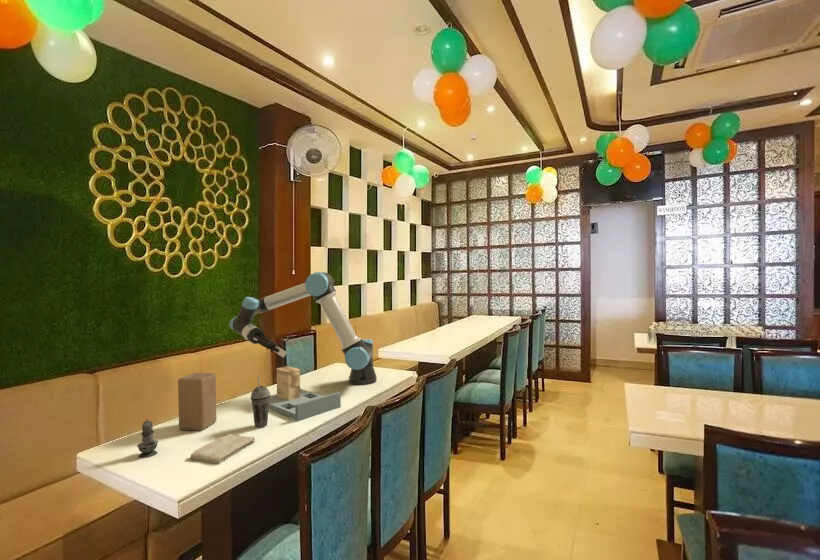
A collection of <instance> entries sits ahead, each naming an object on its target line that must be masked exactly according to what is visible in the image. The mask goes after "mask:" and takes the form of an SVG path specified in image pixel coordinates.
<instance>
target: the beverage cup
mask: <svg viewBox="0 0 820 560" xmlns="http://www.w3.org/2000/svg"><path fill="white" fill-rule="evenodd" d="M257 385H258V386H256V387H255V388H254V389H253V390H252V392H251V394H250V400H251V405H252V413H253V423H254V427H255V428H256V427H257V429H262V428H261V427H263V428H265V426H266V427H267V426H268V421H269V409H268V408H269V400H270V396H271V393H270V390H269V389H268V387H266V386H264V385H260V376H259V375H257Z"/></svg>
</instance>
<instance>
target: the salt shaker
mask: <svg viewBox="0 0 820 560" xmlns="http://www.w3.org/2000/svg"><path fill="white" fill-rule="evenodd" d="M141 427H142V428H141V429H142V430H141V431H142V432H141V433H140V435H142V436H141V438H142V439H141V442H139V443H138V444H137V445H136V446H137V448H138V451H139V452H141V453H140V454H139V455H138V458H140V459H146V458H152V457H154V456H155V455H157V454H158V451H157V450H155V449H156V448H157V447H158V443H159V441H158V440H156V439H154V433H155V431H154V430H153V427H154V426H153V422H152V421H151V420H149V419H148V418H146V420H145V421H144V422H143V423H142V425H141Z"/></svg>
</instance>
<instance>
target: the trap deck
mask: <svg viewBox="0 0 820 560" xmlns="http://www.w3.org/2000/svg"><path fill="white" fill-rule="evenodd" d="M341 399H342V397H341V392H340V391H336V392H332V393H330V394H328V395H321V394H318V393H315V392H312V391H309V390H306V389H302V388H300V398H297V399H293V400H286V399H283V398H280V397H278V396H277V393H276V394H273V395H270V400H269V408H268V410H269V409H270V411H271V412H274V411H275V412H274V413H277V414H279V413H280V415H281V414H282V415H281V416H284V417H286V418H289V419H291V418H292V419H291V420H293V419H294V421H296V422H300V421H303V420H305V419H309V418H311V417H312V418H313V417H315V416H318V415H321V414H324V413H327V412H330V411H333V410H336V409H339V408H341V406H342V405H341V404H342V403H341V402H342V401H341Z"/></svg>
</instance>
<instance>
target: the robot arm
mask: <svg viewBox="0 0 820 560" xmlns="http://www.w3.org/2000/svg"><path fill="white" fill-rule="evenodd" d="M334 286H335V280H334V277H333V276H332V275H331V274H330V273H328V272H325V271H324V272H321V271H317V272H314V273H310V274H309V276H307V277H306V280H305V282H304V283H301V284H298V285H295V286H292V287H290V288H287V289H283V290H282V291H278V292H276V293H273V294H270V295H267V296H264V297H262V298H259V299H257V298H255V297H251V296H245V298H244V299H243V301H242V302H241V306H240V310H239V311H238V314H237V315H235V316H233V317H232V319H231V320H230V321H229V327H230V329H231V330H233V332H234V333H237V335H239V336H241V337H243V338H244V340H247V341H248V342H250V343H252V344H254V345H258V344H259V345H260V346H261V347H264V348H265V349H267V350H270V352H271V353H273V352H274V353H275V354H277V355H278V356H280V357H282V358H285V356H286V355H287V353H288V352H287V351H285V350H284V349H283V348H281V345H280V344H277V343H276V342H275V341H274V340H273V339H269V338H268V336H265V333H264V331H263V330H262V329H260V328H258V327H257V326H256V325H255V324H252V322H253V319H254V317H255V315H258V314H263V313H266V312H268V311H271V310H274V309H277V308H279V307H282V306H284V305H287V304H290V303H294V302H297V301H299V300H302V299H305V298H307V297H310V296H311V297H313V298H312V299H314V303H316V304H320V307H321V308H322V310H323V312H324V314H325V316H326V317H327V319H328V321H329V323H330V325H331V327H332V328H333V330H334V333H335V334H336V336H337V337H338V339H339V341H340V344H341V347H340V348H341V351H342V354H343V355H344V361H345V364H346V366H347V367H349V368H350V369H351V370H350V373H349V377H348V383H350V384H353V385H358V386H359V385H360V386H361V385H363V386H364V385H370V384H375V383H376V382H377V380H378V379H377V375H376V374H377V373H376V372H375V368H374V342H373V339H369V338H362V337H359V336H357V334H356V332H355V330H354V327H353V326H352V325H351V322H350V320H349V319H348V317H347V315H346V314H345V313H346V312H344V310H343V308H342V306H341V304H340V302H339V301H338V299H337V297H336V294H337V290H336V289H335V288H336V287H334Z"/></svg>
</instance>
